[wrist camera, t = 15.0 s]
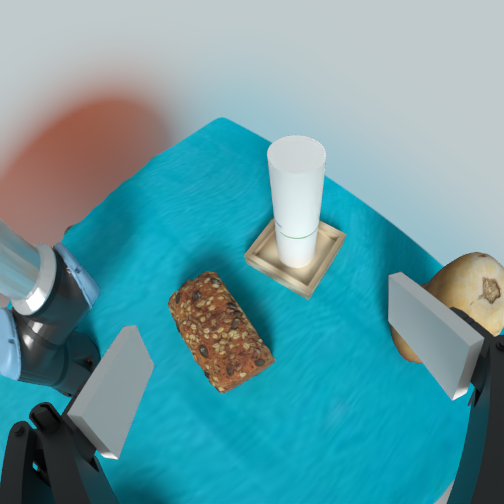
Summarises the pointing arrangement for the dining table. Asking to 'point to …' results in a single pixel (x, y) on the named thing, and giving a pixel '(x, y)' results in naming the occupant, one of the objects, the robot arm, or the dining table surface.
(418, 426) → the dining table surface
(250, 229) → the dining table surface
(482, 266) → the butternut squash
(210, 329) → the bread
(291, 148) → the cylindrical container
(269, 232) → the holder tray
